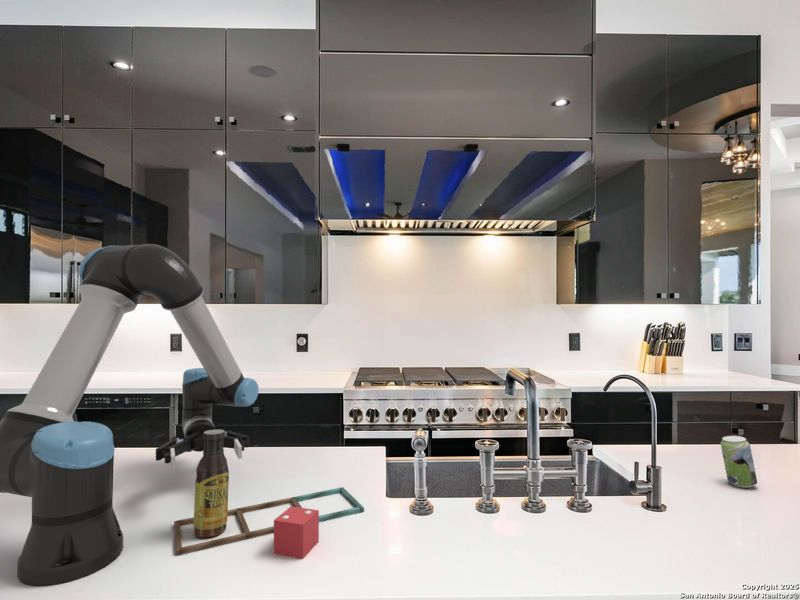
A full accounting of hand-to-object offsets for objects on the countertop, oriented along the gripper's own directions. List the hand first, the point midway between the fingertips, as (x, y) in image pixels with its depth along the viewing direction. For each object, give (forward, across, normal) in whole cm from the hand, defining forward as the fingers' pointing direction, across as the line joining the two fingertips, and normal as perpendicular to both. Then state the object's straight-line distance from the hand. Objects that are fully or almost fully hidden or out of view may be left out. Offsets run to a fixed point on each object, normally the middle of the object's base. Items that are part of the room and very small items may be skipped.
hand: (207, 457), depth 98 cm
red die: (+24, -13, -12) cm, 30 cm away
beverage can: (+48, -119, -13) cm, 129 cm away
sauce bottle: (+10, 0, -12) cm, 15 cm away
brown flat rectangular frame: (+10, -12, -12) cm, 19 cm away
